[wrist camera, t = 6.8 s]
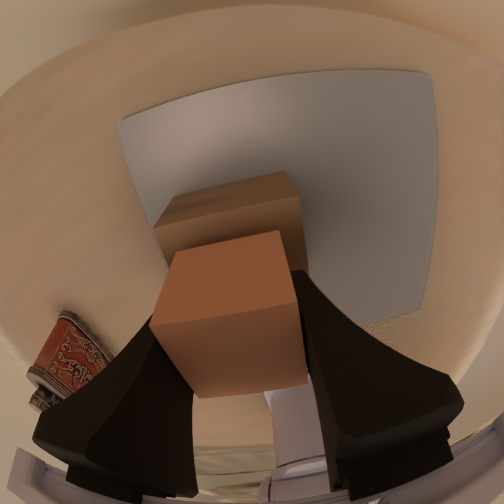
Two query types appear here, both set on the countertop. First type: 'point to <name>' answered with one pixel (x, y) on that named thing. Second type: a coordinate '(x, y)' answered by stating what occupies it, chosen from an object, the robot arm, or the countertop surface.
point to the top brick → (232, 318)
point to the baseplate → (313, 171)
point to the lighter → (66, 361)
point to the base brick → (235, 217)
